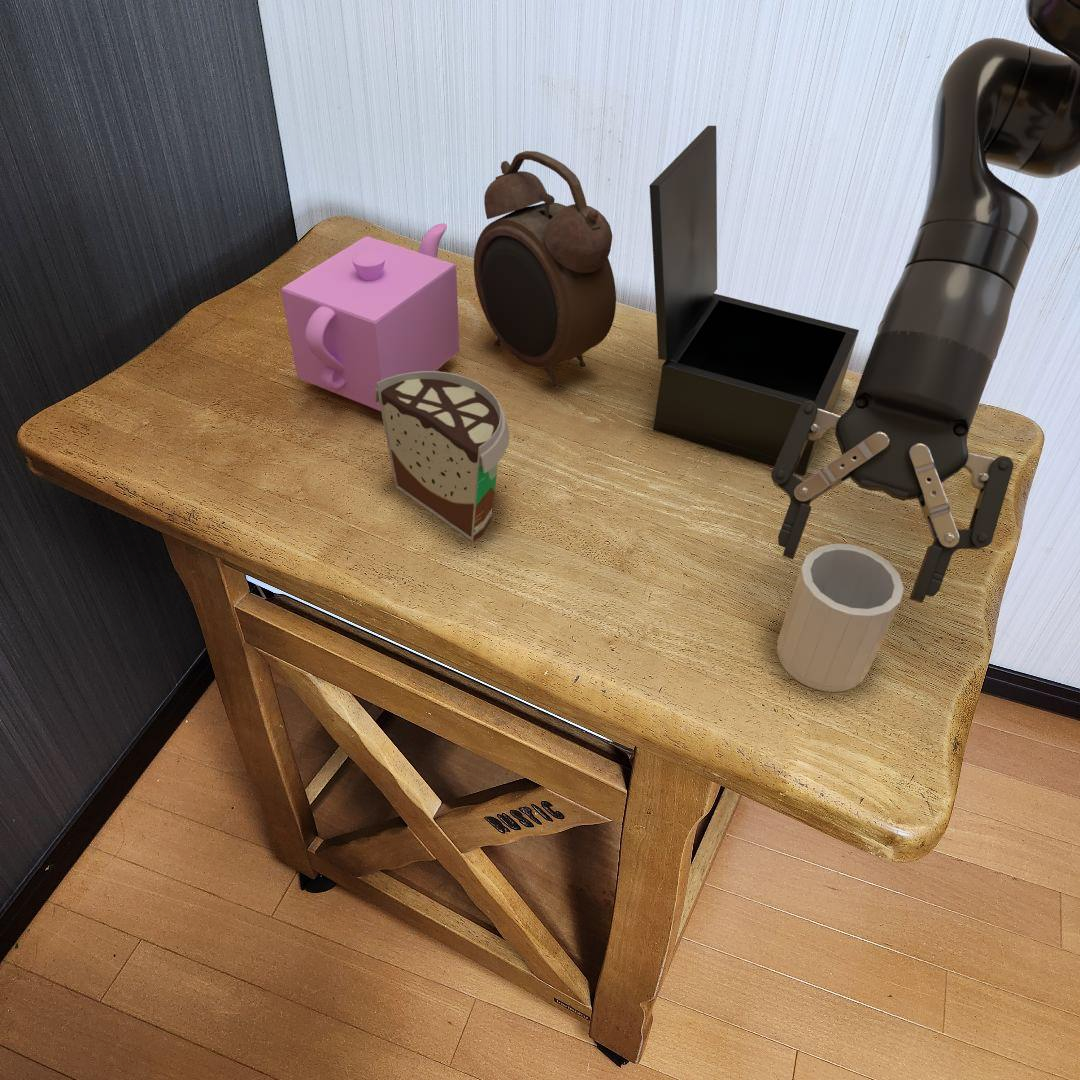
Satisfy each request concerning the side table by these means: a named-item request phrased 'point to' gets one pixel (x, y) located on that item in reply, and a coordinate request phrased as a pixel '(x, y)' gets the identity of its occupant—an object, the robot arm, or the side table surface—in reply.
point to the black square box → (750, 378)
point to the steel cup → (838, 616)
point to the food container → (444, 444)
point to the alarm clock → (544, 268)
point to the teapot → (373, 316)
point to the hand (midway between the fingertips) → (850, 578)
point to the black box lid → (684, 239)
